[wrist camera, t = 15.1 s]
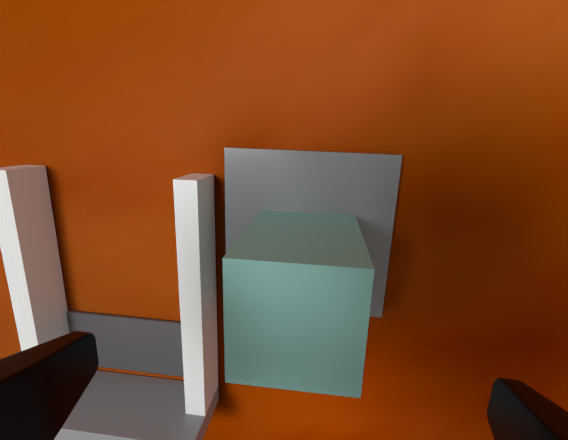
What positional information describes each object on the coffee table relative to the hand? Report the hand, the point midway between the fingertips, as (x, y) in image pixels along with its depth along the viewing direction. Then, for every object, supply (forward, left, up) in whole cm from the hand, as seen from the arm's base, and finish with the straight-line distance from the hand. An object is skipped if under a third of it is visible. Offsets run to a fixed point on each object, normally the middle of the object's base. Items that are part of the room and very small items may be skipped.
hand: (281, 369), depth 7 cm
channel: (-4, +11, -11) cm, 16 cm away
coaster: (0, 0, -11) cm, 11 cm away
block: (-2, 0, -11) cm, 11 cm away
